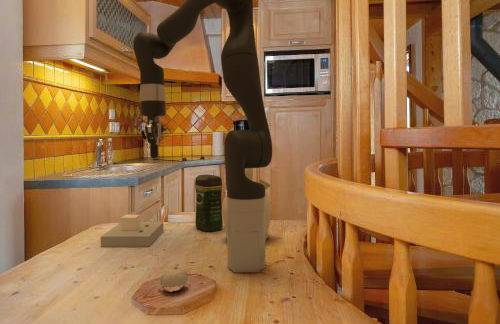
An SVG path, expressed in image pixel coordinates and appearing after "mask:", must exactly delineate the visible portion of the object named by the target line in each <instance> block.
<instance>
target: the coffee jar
mask: <svg viewBox="0 0 500 324" xmlns="http://www.w3.org/2000/svg"><path fill="white" fill-rule="evenodd" d="M222 180H223V179H222V177H220V176H219V175H213V174H208V173H207V174H206V173H205V174H198V175H197V176H196V178H195V181H194V189H195V228H196V229H197V230H198V229H199V230H201V231H204V232H209V231H211V232H216V231H219V230H221V229H222V228H223V226H224V220H223V214H222V204H223V201H222V190H223V181H222Z"/></svg>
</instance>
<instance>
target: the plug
mask: <svg viewBox="0 0 500 324" xmlns="http://www.w3.org/2000/svg"><path fill="white" fill-rule="evenodd" d="M140 222H141V215H140V214H124V215H123V216H121V217H120V223H121V231H136V230H137V229H138V228H140Z"/></svg>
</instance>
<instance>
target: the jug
mask: <svg viewBox="0 0 500 324" xmlns="http://www.w3.org/2000/svg"><path fill="white" fill-rule="evenodd" d="M245 175H246V177H247V178H248V179H250V180H252V181H253V176H254V168H245ZM224 183H225V190H226V191H227V187H226V181H225V182H224ZM258 183H261V184H263V185H264V186H265V241H267V238H268V234H269V228H270V224H271V219H272V211H273V209H272V208H273V206H272V201H271V198H270V196H269V195H268V193H267V192H266V190H267V189H268V188H270V187H271V184H270V183H269V182H267V180H264V179H263V178H260V179H259V182H258ZM222 221H223V226H224V230H225V233H226V235H227V194H226V195H225V197H224V199H223V201H222Z"/></svg>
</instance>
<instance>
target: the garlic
mask: <svg viewBox="0 0 500 324" xmlns="http://www.w3.org/2000/svg"><path fill="white" fill-rule="evenodd" d="M178 267H179V264H178V263H175V265H174V266H173V267H171V268H168V269H166V270H165V271H164V272H163V273H162V275H161V276H160V280H159V282H160V283H159V284H160V286H161V285H163V287H166V288H167V287H175V286H181V285H184V284H185V283H186V284H187V282H188V278H189V275H188V271H187V270H185V269H183V268H178ZM186 281H187V282H186ZM186 284H185V285H186ZM163 287H162V288H163Z"/></svg>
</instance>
